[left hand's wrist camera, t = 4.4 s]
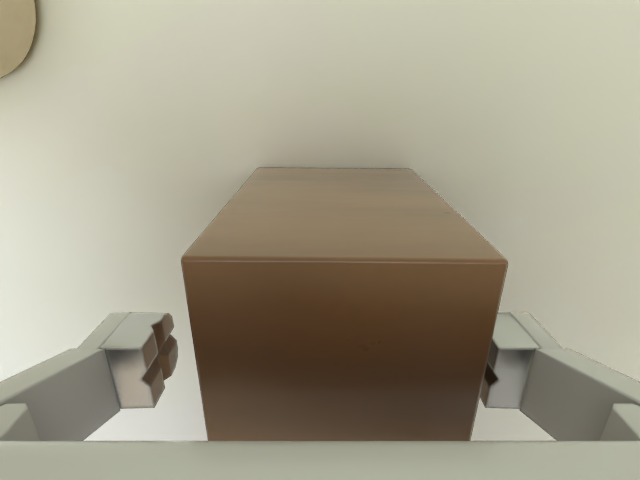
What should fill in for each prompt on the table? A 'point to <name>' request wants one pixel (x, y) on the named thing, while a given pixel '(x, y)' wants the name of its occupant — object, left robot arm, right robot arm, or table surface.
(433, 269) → the bar
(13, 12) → the candle
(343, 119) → the table surface
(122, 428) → the table surface
